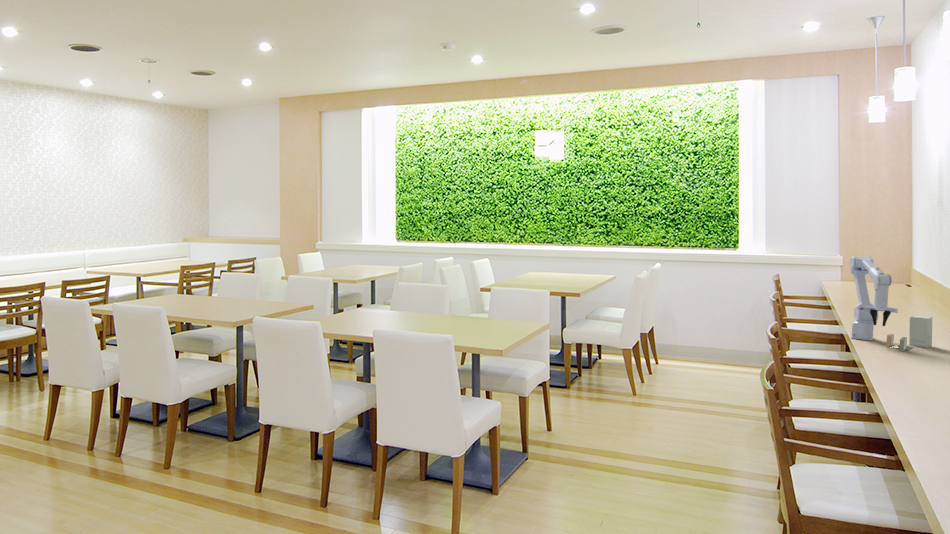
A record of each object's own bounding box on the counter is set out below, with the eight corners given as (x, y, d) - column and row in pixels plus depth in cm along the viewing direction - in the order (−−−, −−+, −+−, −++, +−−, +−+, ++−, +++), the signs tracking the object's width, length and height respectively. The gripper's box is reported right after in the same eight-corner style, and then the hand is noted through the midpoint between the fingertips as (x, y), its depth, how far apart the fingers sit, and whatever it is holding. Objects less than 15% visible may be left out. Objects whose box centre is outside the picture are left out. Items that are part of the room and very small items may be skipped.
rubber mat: (889, 348, 327) (889, 347, 327) (894, 345, 334) (894, 344, 334) (908, 350, 322) (908, 350, 322) (913, 347, 329) (913, 347, 329)
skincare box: (932, 346, 331) (934, 317, 329) (926, 348, 328) (928, 318, 326) (913, 343, 338) (915, 314, 336) (907, 345, 335) (909, 315, 333)
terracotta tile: (886, 347, 330) (887, 335, 329) (889, 345, 334) (890, 333, 334) (890, 347, 329) (891, 335, 328) (893, 345, 333) (894, 334, 332)
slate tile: (899, 351, 320) (900, 339, 319) (902, 348, 324) (903, 336, 323) (903, 352, 319) (904, 339, 318) (906, 349, 323) (907, 337, 322)
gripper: (862, 297, 335) (861, 324, 336) (896, 300, 325) (894, 328, 326) (866, 296, 340) (864, 322, 341) (899, 299, 330) (897, 326, 331)
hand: (879, 325), depth 334 cm, fingers open, 3 cm apart
